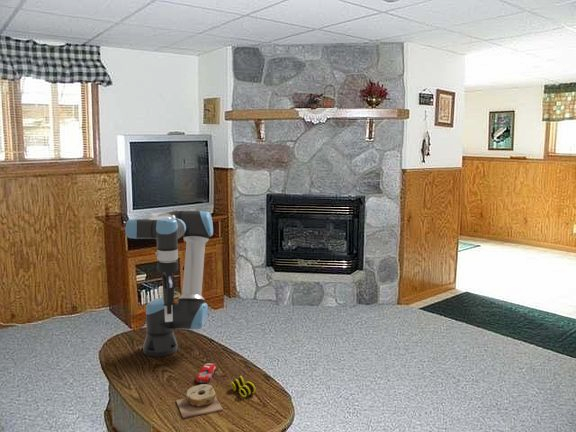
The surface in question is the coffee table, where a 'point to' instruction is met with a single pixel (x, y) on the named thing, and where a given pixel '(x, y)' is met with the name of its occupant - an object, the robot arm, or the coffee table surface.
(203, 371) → the race car
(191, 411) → the walnut board
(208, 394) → the stone disc
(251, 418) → the coffee table surface
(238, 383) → the opera glasses
